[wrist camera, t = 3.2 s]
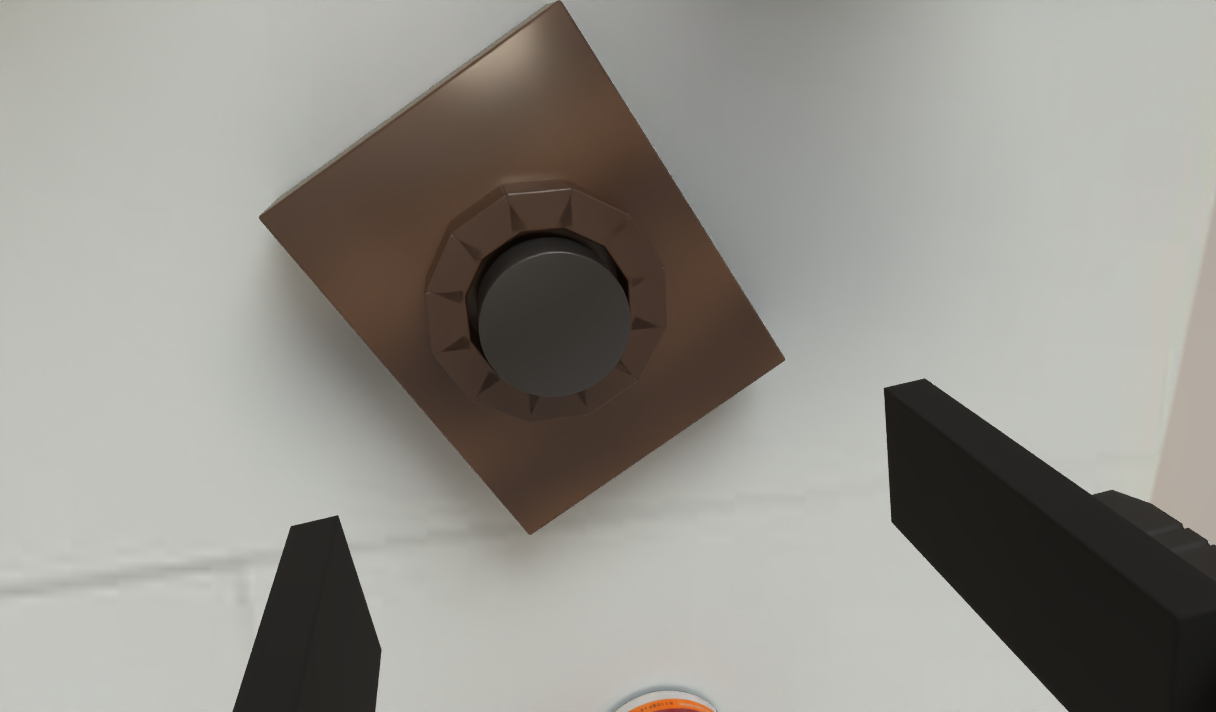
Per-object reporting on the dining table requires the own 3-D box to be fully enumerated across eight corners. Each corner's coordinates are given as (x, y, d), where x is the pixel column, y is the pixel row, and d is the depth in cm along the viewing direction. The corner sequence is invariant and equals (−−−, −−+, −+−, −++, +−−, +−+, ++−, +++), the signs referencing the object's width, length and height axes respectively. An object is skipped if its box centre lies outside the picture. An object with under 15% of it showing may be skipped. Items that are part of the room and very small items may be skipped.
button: (644, 320, 28) (659, 341, 26) (531, 399, 28) (537, 425, 26) (566, 207, 26) (576, 220, 24) (446, 292, 26) (447, 311, 24)
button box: (756, 332, 34) (806, 378, 29) (522, 493, 34) (534, 564, 30) (548, 3, 28) (568, -5, 24) (276, 199, 29) (244, 229, 24)
